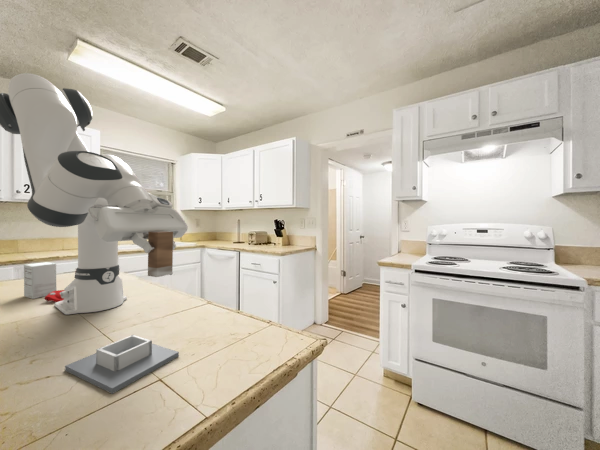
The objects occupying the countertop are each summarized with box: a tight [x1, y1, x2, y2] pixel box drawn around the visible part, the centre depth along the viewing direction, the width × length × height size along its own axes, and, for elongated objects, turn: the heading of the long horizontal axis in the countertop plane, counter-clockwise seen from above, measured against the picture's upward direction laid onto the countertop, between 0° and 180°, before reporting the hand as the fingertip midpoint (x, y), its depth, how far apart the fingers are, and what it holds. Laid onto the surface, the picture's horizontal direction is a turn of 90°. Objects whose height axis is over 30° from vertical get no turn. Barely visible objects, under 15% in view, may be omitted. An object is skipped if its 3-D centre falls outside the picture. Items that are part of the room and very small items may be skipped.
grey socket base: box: [64, 334, 180, 394], centre depth 55 cm, size 16×14×4 cm
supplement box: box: [23, 261, 57, 300], centre depth 101 cm, size 7×7×13 cm
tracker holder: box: [44, 289, 64, 303], centre depth 98 cm, size 12×4×10 cm
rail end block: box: [147, 231, 174, 278], centre depth 59 cm, size 3×4×10 cm
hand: (162, 249), depth 58 cm, fingers closed on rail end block, 4 cm apart
